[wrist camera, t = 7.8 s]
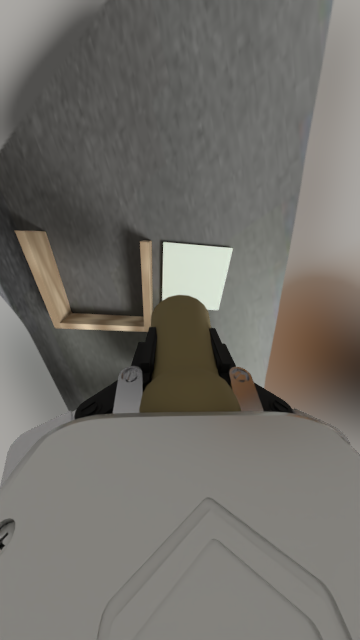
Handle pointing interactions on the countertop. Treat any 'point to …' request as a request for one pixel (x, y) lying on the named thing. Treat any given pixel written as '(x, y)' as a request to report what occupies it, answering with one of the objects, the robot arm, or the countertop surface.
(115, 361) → the countertop surface
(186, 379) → the cork
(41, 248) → the wooden u-shaped frame
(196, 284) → the mat
